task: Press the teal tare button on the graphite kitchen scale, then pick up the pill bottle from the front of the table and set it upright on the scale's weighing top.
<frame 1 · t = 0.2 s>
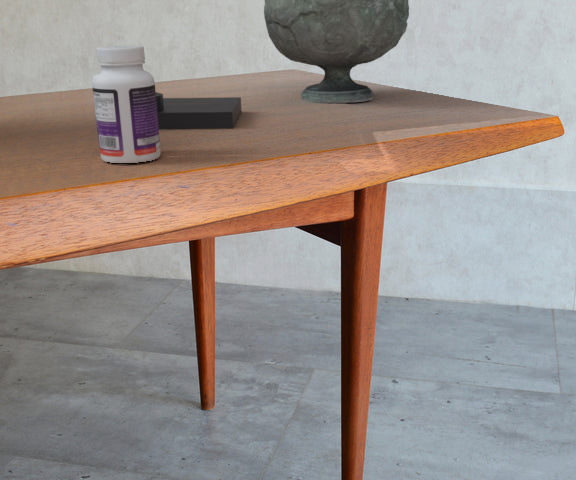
scale: (178, 121, 86), on the table
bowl: (333, 100, 103), on the table
tare button: (134, 90, 82), point 4 cm above the table, slide at 0.1 cm
pill bottle: (131, 161, 67), on the table
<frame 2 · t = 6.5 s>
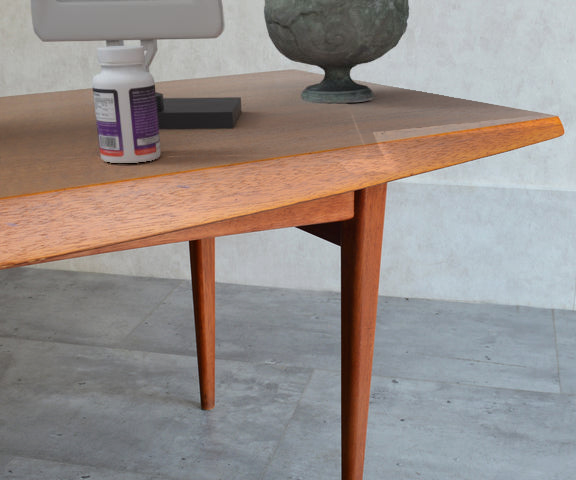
hand: (135, 83, 81), 5 cm above the table, tool pointing down, fingers closed, pressing on tare button
tare button: (135, 92, 82), point 4 cm above the table, slide at -0.1 cm, touching gripper
everything else where it was.
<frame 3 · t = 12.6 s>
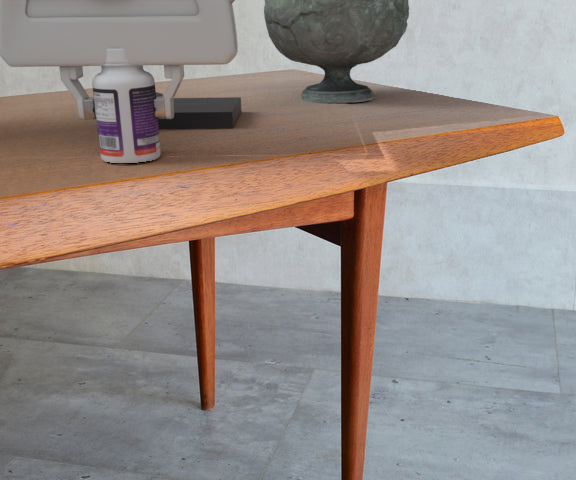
hand: (126, 118, 66), 4 cm above the table, tool pointing down, fingers closed on pill bottle, 5 cm apart
tare button: (134, 90, 82), point 4 cm above the table, slide at 0.1 cm
pill bottle: (131, 161, 67), on the table, touching gripper
everything else where it was.
when the fingers open (5 cm above the table, at t = 19.8 s): pill bottle stays where it is, resting on scale.
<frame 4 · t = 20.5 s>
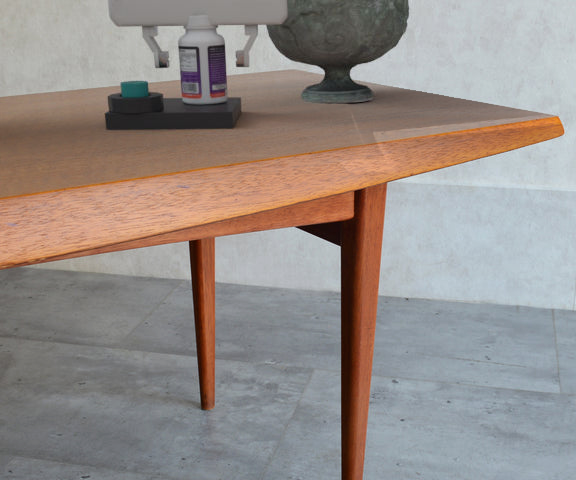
hand: (202, 67, 86), 6 cm above the table, tool pointing down, fingers open, 8 cm apart
pill bottle: (205, 103, 87), point 2 cm above the table, touching scale
everything else where it was.
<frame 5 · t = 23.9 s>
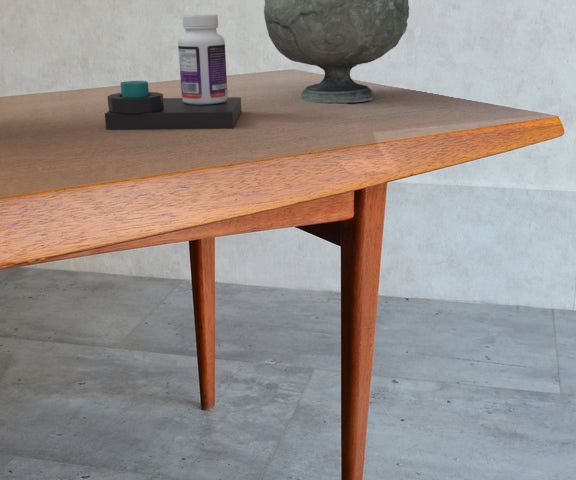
nothing on the table moved.
at the end: tare button pushed in 0.9 cm at the most during the clip, back to where it started at the end; pill bottle inside the target area on the scale (2.4 cm from its centre), point 1.7 cm above the scale's base; pill bottle tilted 0° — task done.
